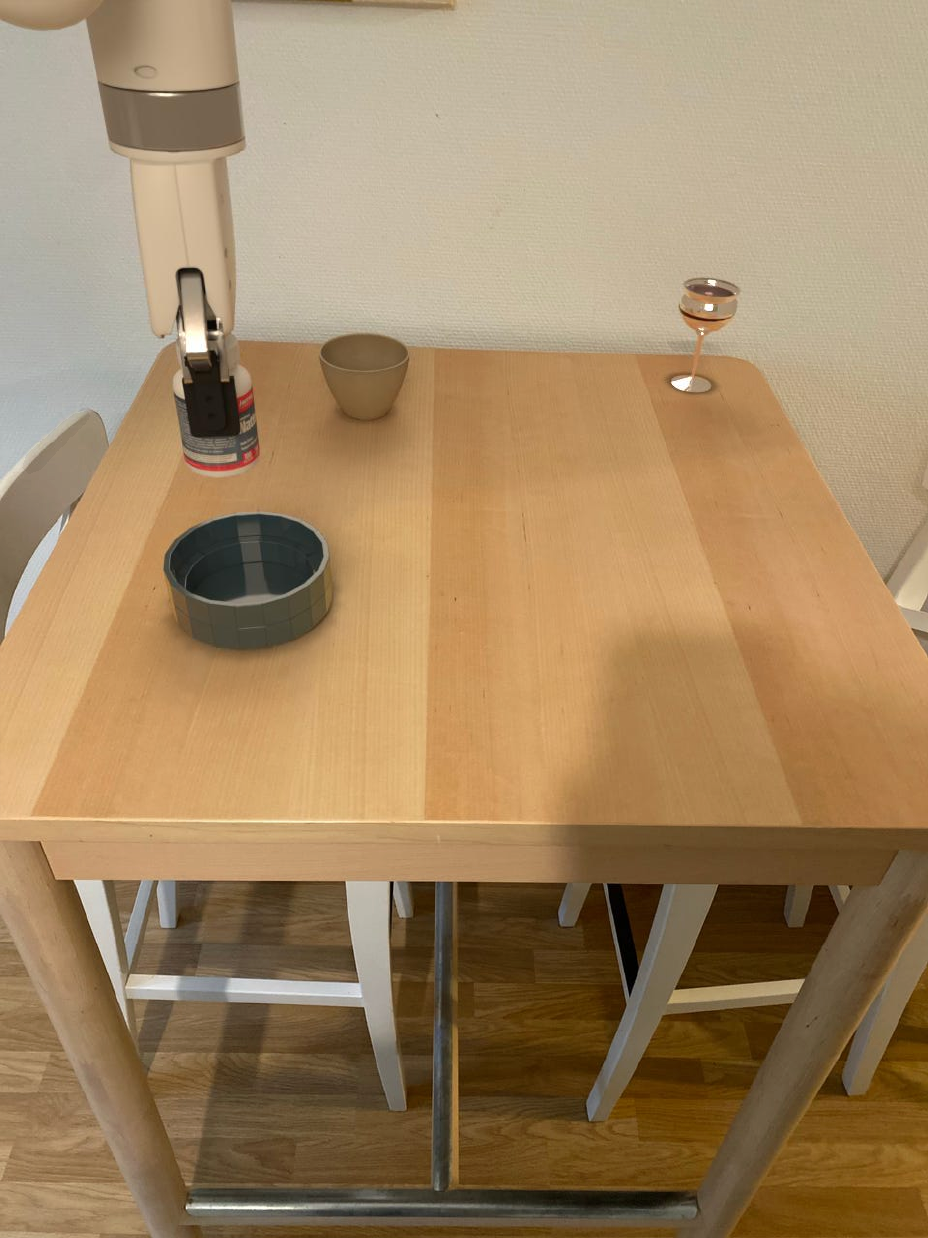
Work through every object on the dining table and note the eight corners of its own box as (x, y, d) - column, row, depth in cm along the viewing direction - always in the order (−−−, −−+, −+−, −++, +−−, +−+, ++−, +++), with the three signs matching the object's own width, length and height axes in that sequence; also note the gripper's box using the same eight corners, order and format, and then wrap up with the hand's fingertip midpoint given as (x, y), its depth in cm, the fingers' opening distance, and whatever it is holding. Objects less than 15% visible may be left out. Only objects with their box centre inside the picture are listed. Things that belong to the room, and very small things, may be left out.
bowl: (169, 662, 70) (158, 612, 67) (178, 564, 80) (168, 516, 77) (337, 647, 72) (334, 598, 69) (326, 553, 82) (323, 506, 79)
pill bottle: (256, 480, 63) (242, 358, 57) (179, 480, 62) (157, 357, 57) (264, 443, 67) (251, 325, 61) (192, 442, 66) (172, 324, 61)
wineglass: (726, 394, 111) (750, 297, 103) (673, 396, 110) (693, 298, 102) (707, 371, 116) (728, 276, 108) (656, 372, 115) (674, 277, 108)
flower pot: (303, 411, 103) (299, 351, 98) (362, 383, 109) (360, 325, 105) (369, 440, 99) (368, 378, 94) (427, 408, 105) (428, 349, 100)
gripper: (120, 87, 57) (168, 363, 68) (84, 155, 44) (151, 481, 55) (243, 89, 58) (270, 359, 69) (243, 155, 45) (276, 474, 56)
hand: (217, 410), depth 62 cm, fingers closed on pill bottle, 5 cm apart
